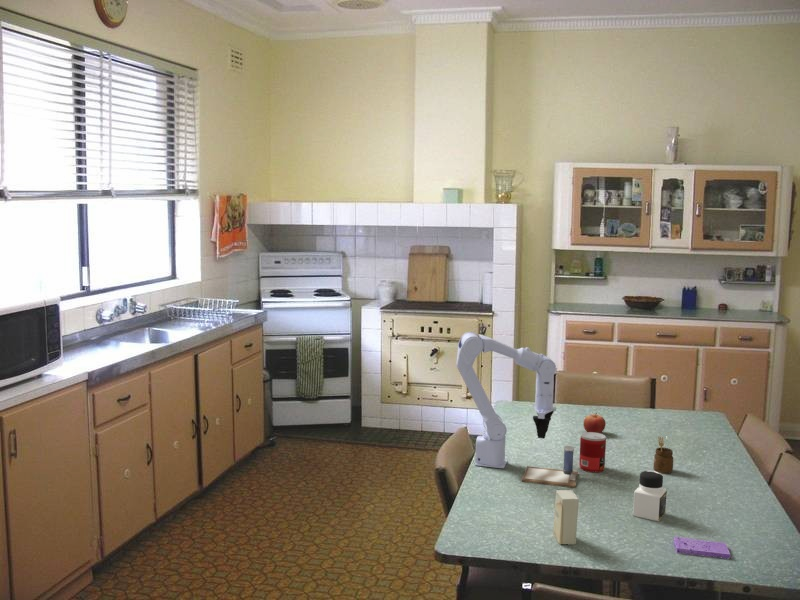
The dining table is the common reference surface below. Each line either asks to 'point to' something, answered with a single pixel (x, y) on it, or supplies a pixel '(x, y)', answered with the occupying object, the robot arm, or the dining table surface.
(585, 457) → the canned food
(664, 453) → the utensil holder
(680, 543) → the sponges
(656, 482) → the medicine bottle
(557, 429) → the dining table surface
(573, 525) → the skincare box
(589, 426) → the apple
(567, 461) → the blue cylindrical bottle
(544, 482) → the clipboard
